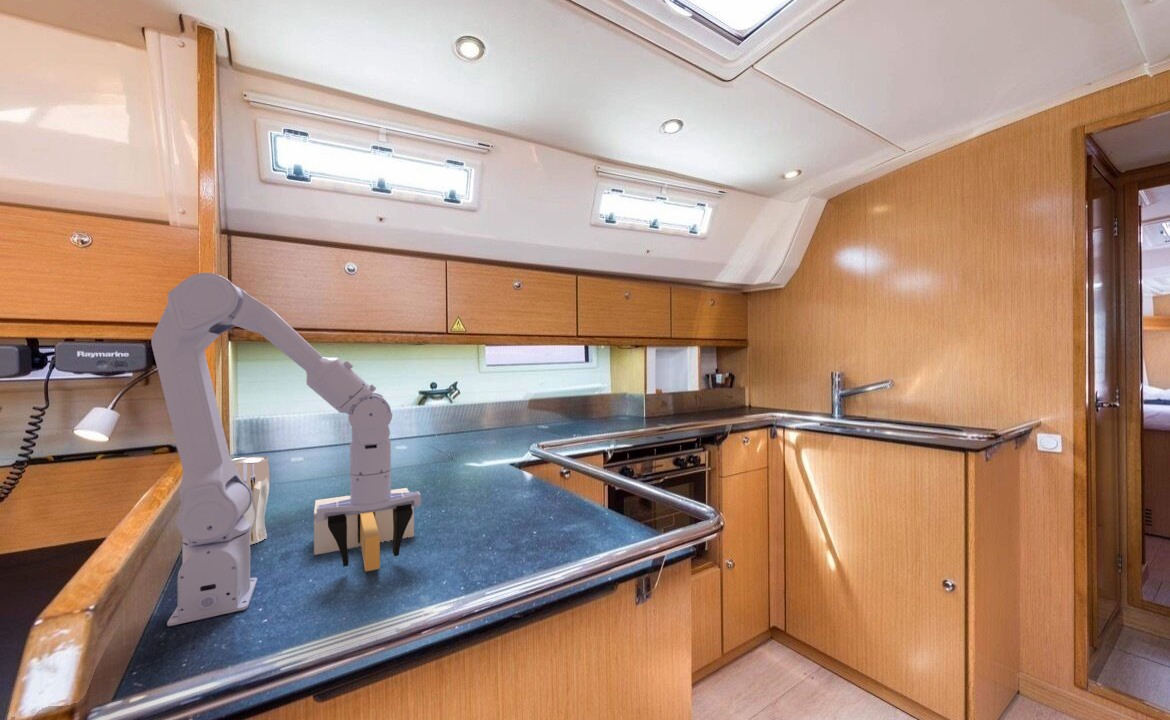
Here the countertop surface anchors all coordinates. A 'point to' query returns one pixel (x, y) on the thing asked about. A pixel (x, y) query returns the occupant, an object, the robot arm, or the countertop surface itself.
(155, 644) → the countertop surface
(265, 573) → the countertop surface
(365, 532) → the tab
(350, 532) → the dispenser
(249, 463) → the beer glass
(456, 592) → the countertop surface
